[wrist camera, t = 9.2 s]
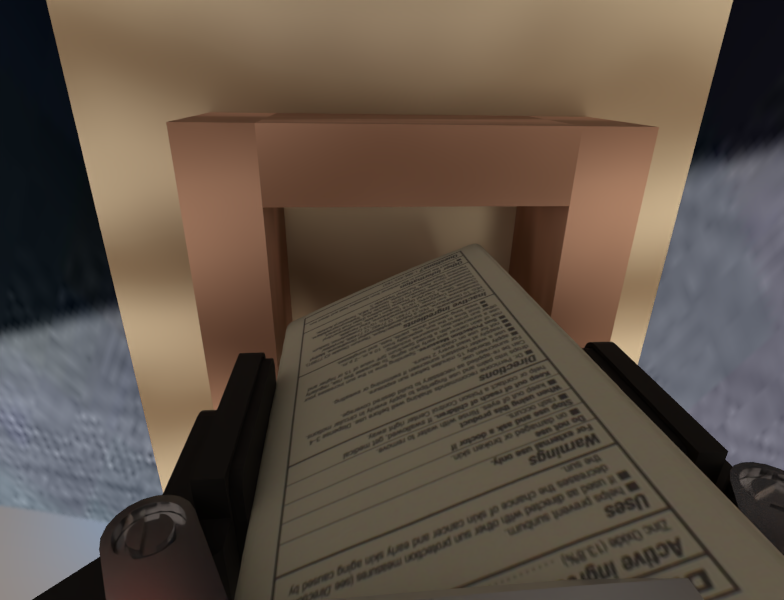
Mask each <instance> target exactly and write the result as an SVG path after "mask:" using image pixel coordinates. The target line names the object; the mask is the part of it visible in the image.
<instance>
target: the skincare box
mask: <svg viewBox="0 0 784 600" xmlns="http://www.w3.org/2000/svg"><path fill="white" fill-rule="evenodd" d="M625 578H688V579H689V580H690V581H691V583H692V584H693V585H694V587H695V588H696V589H697V591H698V592H699V593H700V595H701V596H702V597H703V599H704V600H784V555H783V554H782V553H781V552H780V551H779V550H778V549H777V548H776V547H775V546H774V545H773V544H772V543H771V542H770V541H769V540H768V539H767V538H766V537H765V536H764V535H763V534H762V533H761V532H760V531H759V530H758V529H757V527H756V526H755V525H754V524H753V523H752V522H751V521H750V520H749V519H748V518H747V517H746V516H745V515H744V514H743V513H742V512H741V511H740V510H739V509H738V508H737V507H736V506H735V505H734V504H733V503H732V502H731V501H730V500H729V499H728V498H727V497H726V496H725V495H724V494H723V493H722V492H721V491H720V490H719V489H718V488H717V486H716V485H715V484H714V483H713V482H712V481H711V480H710V479H709V478H708V477H707V476H706V475H705V474H704V473H703V472H702V471H701V470H700V469H699V468H698V467H697V466H696V465H695V464H694V463H693V462H692V461H691V460H690V459H689V458H688V457H687V456H686V455H685V454H684V453H683V452H682V451H681V450H680V449H679V448H678V447H677V446H676V445H675V444H674V443H673V442H672V441H671V440H670V439H669V438H668V436H667V435H666V434H665V433H664V432H663V431H662V430H661V429H660V428H659V427H658V426H657V425H656V424H655V423H654V422H653V421H652V420H651V419H650V418H649V417H648V416H647V415H646V414H645V413H644V412H643V411H642V410H641V409H640V408H639V407H638V406H637V405H636V404H635V403H634V402H633V401H632V400H631V399H630V398H629V397H628V396H627V395H626V394H625V393H624V392H623V391H622V390H621V389H620V388H619V386H618V385H617V384H616V383H615V382H614V381H613V380H612V379H611V378H610V377H609V376H608V375H607V374H606V373H605V372H604V371H603V370H602V369H601V368H600V367H599V366H598V365H597V364H596V363H595V362H594V361H593V360H592V358H591V357H590V356H589V355H588V354H587V353H586V352H585V351H584V350H583V349H582V348H581V347H580V346H579V345H578V344H577V343H576V342H575V341H574V340H573V339H572V338H571V337H570V336H569V335H568V334H567V333H566V332H565V331H564V330H563V329H562V328H561V327H560V326H559V325H558V324H557V323H556V322H555V321H554V320H553V319H552V318H551V317H550V316H549V315H548V314H547V313H546V312H545V311H544V310H543V309H542V308H541V307H540V306H539V305H538V304H537V302H536V301H535V300H534V299H533V298H532V297H531V296H530V295H529V294H528V293H527V292H526V291H525V290H524V289H523V288H522V287H521V286H520V285H519V284H518V283H517V282H516V281H515V280H514V279H513V278H512V277H511V276H510V275H509V274H508V273H507V272H506V271H505V270H504V269H503V268H502V267H501V266H500V265H499V263H498V262H497V261H496V260H495V259H494V258H493V257H492V256H491V255H490V254H489V253H488V252H487V251H486V250H485V249H484V248H483V247H482V246H481V245H479V244H471V245H468V246H465V247H463V248H460V249H458V250H455V251H453V252H450V253H447V254H445V255H442V256H440V257H438V258H435V259H433V260H430V261H427V262H425V263H423V264H420V265H418V266H415V267H413V268H411V269H408V270H406V271H404V272H401V273H399V274H396V275H394V276H392V277H390V278H387V279H385V280H383V281H380V282H378V283H376V284H374V285H371V286H369V287H367V288H364V289H362V290H360V291H357V292H355V293H353V294H351V295H349V296H347V297H344V298H342V299H340V300H338V301H335V302H333V303H331V304H329V305H327V306H325V307H322V308H320V309H318V310H316V311H314V312H312V313H310V314H308V315H306V316H303V317H301V318H299V319H297V320H295V321H293V322H291V323H289V325H288V326H287V329H286V334H285V340H284V344H283V350H282V355H281V359H280V366H279V371H278V376H277V381H276V389H275V394H274V398H273V403H272V408H271V412H270V417H269V424H268V429H267V433H266V438H265V443H264V448H263V453H262V459H261V464H260V470H259V475H258V480H257V486H256V491H255V496H254V502H253V506H252V511H251V516H250V521H249V526H248V531H247V536H246V541H245V547H244V551H243V556H242V562H241V568H240V573H239V578H238V583H237V588H236V593H235V599H234V600H324V599H335V598H347V597H359V596H372V595H384V594H396V593H408V592H420V591H432V590H444V589H456V588H469V587H482V586H495V585H508V584H521V583H533V582H547V581H560V580H580V579H625Z"/></svg>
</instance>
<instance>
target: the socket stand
mask: <svg viewBox="0 0 784 600" xmlns="http://www.w3.org/2000/svg"><path fill="white" fill-rule="evenodd" d="M46 1H47V6H48V10H49V14H50V18H51V22H52V27H53V31H54V35H55V39H56V43H57V48H58V52H59V56H60V60H61V65H62V69H63V73H64V77H65V81H66V86H67V90H68V94H69V98H70V102H71V107H72V111H73V115H74V119H75V123H76V128H77V132H78V136H79V140H80V144H81V149H82V153H83V157H84V161H85V166H86V170H87V174H88V178H89V182H90V187H91V191H92V195H93V199H94V203H95V208H96V212H97V216H98V220H99V224H100V229H101V233H102V237H103V241H104V245H105V250H106V254H107V258H108V262H109V267H110V271H111V275H112V279H113V283H114V288H115V292H116V296H117V300H118V304H119V309H120V313H121V317H122V321H123V325H124V330H125V334H126V338H127V342H128V346H129V351H130V355H131V359H132V363H133V368H134V372H135V376H136V380H137V384H138V389H139V393H140V397H141V401H142V405H143V410H144V414H145V418H146V422H147V426H148V431H149V435H150V439H151V443H152V447H153V452H154V456H155V460H156V464H157V469H158V473H159V477H160V481H161V485H162V490H163V492H164V490H165V488H166V486H167V483H168V481H169V479H170V477H171V474H172V472H173V470H174V468H175V465H176V463H177V461H178V459H179V456H180V454H181V452H182V450H183V447H184V445H185V443H186V441H187V438H188V436H189V434H190V432H191V429H192V427H193V425H194V422H195V420H196V418H197V416H198V414H199V413H200V412H201V411H202V410H217V408H218V406H219V403H220V401H221V398H222V396H223V393H224V391H225V388H226V385H227V383H228V380H229V378H230V375H231V373H232V370H233V367H234V365H235V362H236V360H237V357H238V355H239V353H259V352H264V353H265V356H266V358H273V359H274V363H275V373H276V381H277V376H278V371H279V366H280V359H281V355H282V350H283V344H284V340H285V334H286V329H287V326H288V325H289V323H291V322H293V321H295V320H297V319H299V318H301V317H303V316H306V315H308V314H310V313H312V312H314V311H316V310H318V309H320V308H322V307H325V306H327V305H329V304H331V303H333V302H335V301H338V300H340V299H342V298H344V297H347V296H349V295H351V294H353V293H355V292H357V291H360V290H362V289H364V288H367V287H369V286H371V285H374V284H376V283H378V282H380V281H383V280H385V279H387V278H390V277H392V276H394V275H396V274H399V273H401V272H404V271H406V270H408V269H411V268H413V267H415V266H418V265H420V264H423V263H425V262H427V261H430V260H433V259H435V258H438V257H440V256H442V255H445V254H447V253H450V252H453V251H455V250H458V249H460V248H463V247H465V246H468V245H471V244H479V245H481V246H482V247H483V248H484V249H485V250H486V251H487V252H488V253H489V254H490V255H491V256H492V257H493V258H494V259H495V260H496V261H497V262H498V263H499V265H500V266H501V267H502V268H503V269H504V270H505V271H506V272H507V273H508V274H509V275H510V276H511V277H512V278H513V279H514V280H515V281H516V282H517V283H518V284H519V285H520V286H521V287H522V288H523V289H524V290H525V291H526V292H527V293H528V294H529V295H530V296H531V297H532V298H533V299H534V300H535V301H536V302H537V304H538V305H539V306H540V307H541V308H542V309H543V310H544V311H545V312H546V313H547V314H548V315H549V316H550V317H551V318H552V319H553V320H554V321H555V322H556V323H557V324H558V325H559V326H560V327H561V328H562V329H563V330H564V331H565V332H566V333H567V334H568V335H569V336H570V337H571V338H572V339H573V340H574V341H575V342H576V343H577V344H578V345H579V346H580V347H581V348H584V347H585V345H586V344H587V343H589V342H614V343H615V344H616V345H617V346H618V347H619V348H620V349H621V350H622V351H624V352H625V353H626V354H627V355H628V356H629V357H630V358H631V359H632V360H633V361H634V362H635V363H636V364H637V365H638V362H639V358H640V354H641V350H642V346H643V342H644V339H645V335H646V331H647V327H648V323H649V320H650V316H651V312H652V308H653V304H654V300H655V297H656V293H657V289H658V285H659V281H660V277H661V274H662V270H663V266H664V262H665V258H666V255H667V251H668V247H669V243H670V239H671V235H672V232H673V228H674V224H675V220H676V216H677V212H678V209H679V205H680V201H681V197H682V193H683V190H684V186H685V182H686V178H687V174H688V170H689V167H690V163H691V159H692V155H693V151H694V147H695V144H696V140H697V136H698V132H699V128H700V125H701V121H702V117H703V113H704V109H705V105H706V102H707V98H708V94H709V90H710V86H711V82H712V79H713V75H714V71H715V67H716V63H717V60H718V56H719V52H720V48H721V44H722V40H723V37H724V33H725V29H726V25H727V21H728V18H729V14H730V10H731V6H732V2H733V0H46Z"/></svg>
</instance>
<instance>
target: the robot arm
mask: <svg viewBox="0 0 784 600" xmlns="http://www.w3.org/2000/svg"><path fill="white" fill-rule="evenodd" d="M582 349H583V350H584V351H585V352H586V353H587V354H588V355H589V356H590V357H591V358H592V360H593V361H594V362H595V363H596V364H597V365H598V366H599V367H600V368H601V369H602V370H603V371H604V372H605V373H606V374H607V375H608V376H609V377H610V378H611V379H612V380H613V381H614V382H615V383H616V384H617V385H618V386H619V388H620V389H621V390H622V391H623V392H624V393H625V394H626V395H627V396H628V397H629V398H630V399H631V400H632V401H633V402H634V403H635V404H636V405H637V406H638V407H639V408H640V409H641V410H642V411H643V412H644V413H645V414H646V415H647V416H648V417H649V418H650V419H651V420H652V421H653V422H654V423H655V424H656V425H657V426H658V427H659V428H660V429H661V430H662V431H663V432H664V433H665V434H666V435H667V436H668V438H669V439H670V440H671V441H672V442H673V443H674V444H675V445H676V446H677V447H678V448H679V449H680V450H681V451H682V452H683V453H684V454H685V455H686V456H687V457H688V458H689V459H690V460H691V461H692V462H693V463H694V464H695V465H696V466H697V467H698V468H699V469H700V470H701V471H702V472H703V473H704V474H705V475H706V476H707V477H708V478H709V479H710V480H711V481H712V482H713V483H714V484H715V485H716V486H717V488H718V489H719V490H720V491H721V492H722V493H723V494H724V495H725V496H726V497H727V498H728V499H729V500H730V501H731V502H732V503H733V504H734V505H735V506H736V507H737V508H738V509H739V510H740V511H741V512H742V513H743V514H744V515H745V516H746V517H747V518H748V519H749V520H750V521H751V522H752V523H753V524H754V525H755V526H756V527H757V529H758V530H759V531H760V532H761V533H762V534H763V535H764V536H765V537H766V538H767V539H768V540H769V541H770V542H771V543H772V544H773V545H774V546H775V547H776V548H777V549H778V550H779V551H780V552H781V553H782V554H783V555H784V471H783V470H781V469H778V468H775V467H772V466H769V465H766V464H760V463H754V462H744V463H739V464H737V465H734V466H733V467H732V466H731V465H730V464H729V463H728V462H727V461H726V460H725V458H726V456H727V453H728V451H727V450H726V449H725V448H724V447H723V446H722V445H721V444H720V443H719V442H718V441H717V440H716V439H715V438H714V437H713V436H711V435H710V434H709V433H708V432H707V431H706V430H705V429H704V428H703V427H702V426H701V425H700V424H699V423H698V422H697V421H696V420H695V419H694V418H693V417H692V416H691V415H689V414H688V413H687V412H686V411H685V410H684V409H683V408H682V407H681V406H680V405H679V404H678V403H677V402H676V401H675V400H674V399H673V398H672V397H671V396H670V395H669V394H667V393H666V392H665V391H664V390H663V389H662V388H661V387H660V386H659V385H658V384H657V383H656V382H655V381H654V380H653V379H652V378H651V377H650V376H649V375H648V374H647V373H645V372H644V371H643V370H642V369H641V368H640V367H639V366H638V365H637V364H636V363H635V362H634V361H633V360H632V359H631V358H630V357H629V356H628V355H627V354H626V353H625V352H624V351H622V350H621V349H620V348H619V347H618V346H617V345H616V344H615V343H614V342H589V343H587V344H586V345H585V347H584V348H582ZM275 389H276V373H275V363H274V359H273V358H266V356H265V353H264V352H259V353H239V355H238V357H237V360H236V362H235V365H234V367H233V370H232V373H231V375H230V378H229V380H228V383H227V385H226V388H225V391H224V393H223V396H222V398H221V401H220V403H219V406H218V408H217V410H202V411H201V412H200V413H199V414H198V416H197V418H196V420H195V422H194V425H193V427H192V429H191V432H190V434H189V436H188V438H187V441H186V443H185V445H184V447H183V450H182V452H181V454H180V456H179V459H178V461H177V463H176V465H175V468H174V470H173V472H172V474H171V477H170V479H169V481H168V483H167V486H166V488H165V490H164V492H163V495H158V496H153V497H150V498H146V499H143V500H140V501H138V502H136V503H134V504H132V505H130V506H128V507H127V508H126V509H124V510H123V511H122V512H120V513H119V514H118V515H116V516H115V517H114V518H113V520H112V521H111V522H110V523H109V524H108V525H107V526H106V528H105V530H104V532H103V534H102V536H101V538H100V548H99V551H100V557H99V558H97V559H96V560H94V561H92V562H91V563H89V564H88V565H86V566H84V567H83V568H81V569H80V570H78V571H77V572H75V573H73V574H72V575H70V576H69V577H67V578H66V579H64V580H63V581H61V582H59V583H58V584H56V585H55V586H53V587H52V588H50V589H48V590H47V591H45V592H44V593H42V594H40V595H39V596H37V597H36V598H34V599H33V600H234V599H235V593H236V588H237V583H238V578H239V573H240V568H241V562H242V556H243V551H244V547H245V541H246V536H247V531H248V526H249V521H250V516H251V511H252V506H253V502H254V496H255V491H256V486H257V480H258V475H259V470H260V464H261V459H262V453H263V448H264V443H265V438H266V433H267V429H268V424H269V417H270V412H271V408H272V403H273V398H274V394H275ZM324 600H704V599H703V597H702V596H701V595H700V593H699V592H698V591H697V589H696V588H695V587H694V585H693V584H692V583H691V581H690V580H689V579H688V578H625V579H580V580H560V581H547V582H533V583H521V584H508V585H495V586H482V587H469V588H456V589H444V590H432V591H420V592H408V593H396V594H384V595H372V596H359V597H347V598H335V599H324Z"/></svg>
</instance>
